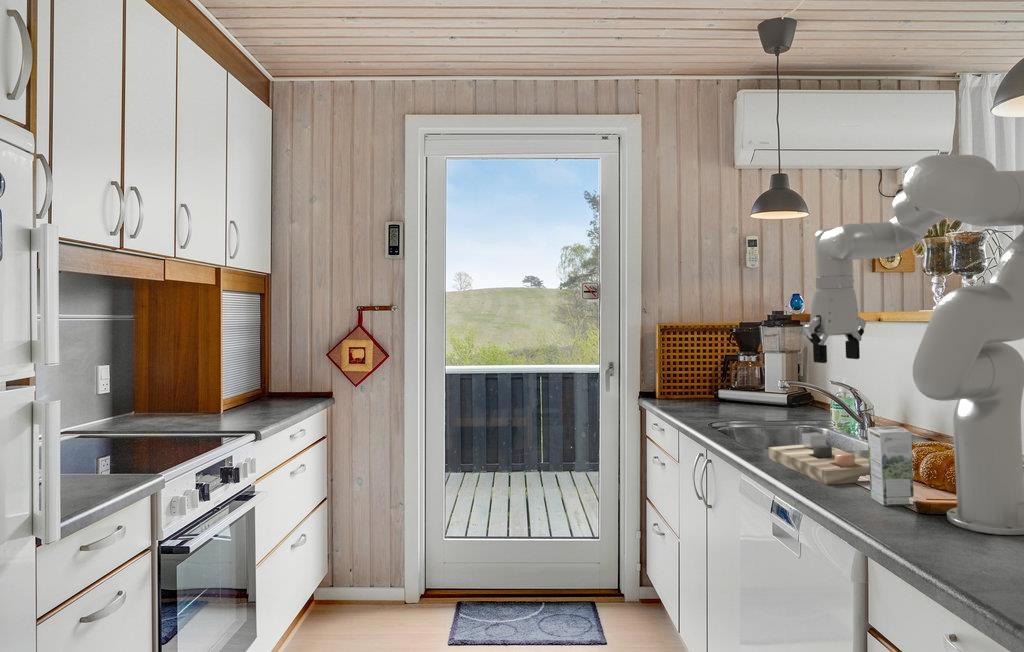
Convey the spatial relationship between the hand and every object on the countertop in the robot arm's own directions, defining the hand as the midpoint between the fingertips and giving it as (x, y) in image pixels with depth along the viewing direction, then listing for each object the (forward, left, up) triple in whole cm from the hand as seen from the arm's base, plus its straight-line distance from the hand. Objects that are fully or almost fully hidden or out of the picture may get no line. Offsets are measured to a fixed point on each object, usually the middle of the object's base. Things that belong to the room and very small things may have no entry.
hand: (836, 360), depth 145 cm
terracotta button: (-1, 0, -24) cm, 24 cm away
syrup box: (-12, +14, -27) cm, 33 cm away
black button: (+6, -7, -24) cm, 26 cm away
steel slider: (+10, -15, -23) cm, 29 cm away
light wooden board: (+6, -7, -26) cm, 28 cm away
